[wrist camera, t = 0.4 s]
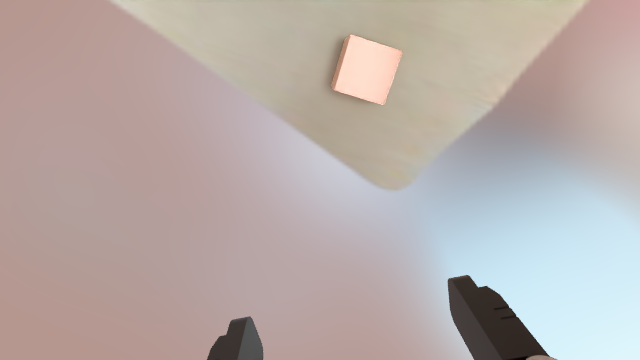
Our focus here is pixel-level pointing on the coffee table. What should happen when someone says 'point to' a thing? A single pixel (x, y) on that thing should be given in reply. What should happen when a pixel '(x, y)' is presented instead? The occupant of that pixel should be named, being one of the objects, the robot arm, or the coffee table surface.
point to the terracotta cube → (366, 69)
